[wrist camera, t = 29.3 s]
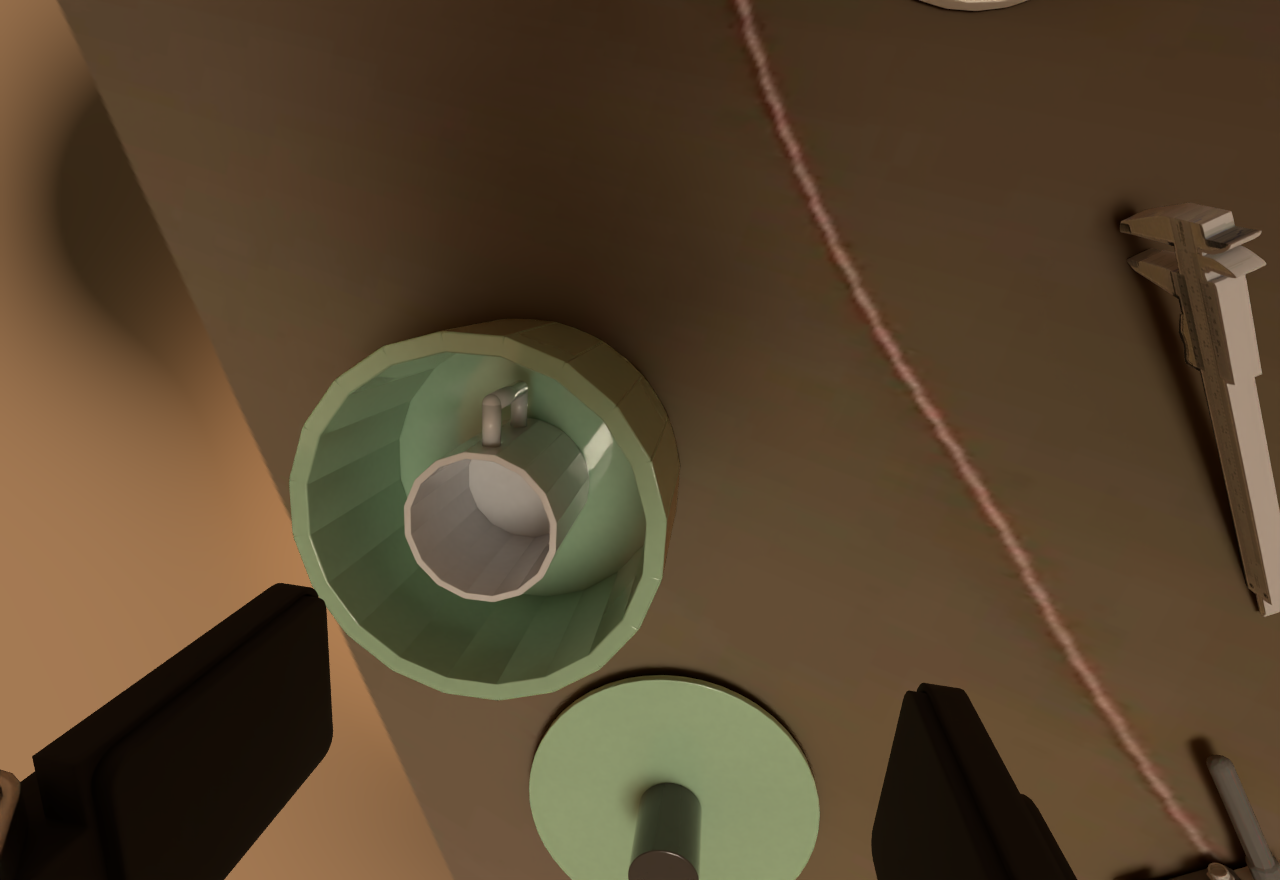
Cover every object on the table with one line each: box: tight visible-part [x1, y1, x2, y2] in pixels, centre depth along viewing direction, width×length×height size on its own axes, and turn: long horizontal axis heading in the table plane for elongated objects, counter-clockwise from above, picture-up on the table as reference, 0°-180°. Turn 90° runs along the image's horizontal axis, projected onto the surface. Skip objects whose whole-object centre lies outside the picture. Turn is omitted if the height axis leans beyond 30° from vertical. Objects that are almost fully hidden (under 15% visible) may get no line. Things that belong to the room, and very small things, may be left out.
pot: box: [289, 318, 680, 700], centre depth 30 cm, size 16×16×8 cm
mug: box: [404, 380, 589, 602], centre depth 30 cm, size 9×7×7 cm
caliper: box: [1120, 203, 1280, 617], centre depth 27 cm, size 20×1×6 cm, turn 28°
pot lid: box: [529, 675, 820, 880], centre depth 35 cm, size 17×17×6 cm
